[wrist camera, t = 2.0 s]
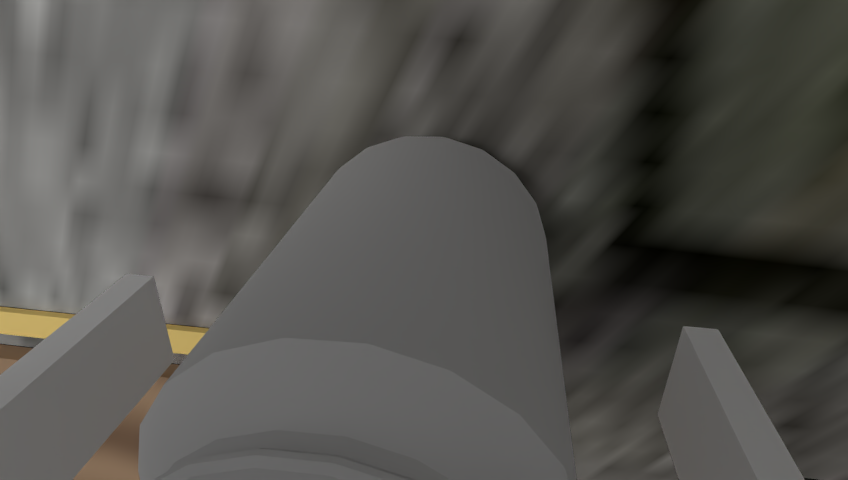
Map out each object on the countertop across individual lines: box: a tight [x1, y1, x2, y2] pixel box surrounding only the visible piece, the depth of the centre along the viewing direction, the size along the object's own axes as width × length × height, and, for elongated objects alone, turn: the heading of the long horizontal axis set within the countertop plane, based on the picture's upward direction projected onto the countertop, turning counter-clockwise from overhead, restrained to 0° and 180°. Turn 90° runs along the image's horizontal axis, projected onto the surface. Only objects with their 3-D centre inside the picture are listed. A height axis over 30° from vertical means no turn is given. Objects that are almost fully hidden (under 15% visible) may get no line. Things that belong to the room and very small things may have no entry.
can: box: [138, 136, 577, 480], centre depth 13 cm, size 8×8×12 cm
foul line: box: [0, 307, 209, 354], centre depth 21 cm, size 1×24×1 cm, turn 89°
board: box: [0, 344, 179, 480], centre depth 24 cm, size 10×22×1 cm, turn 89°
